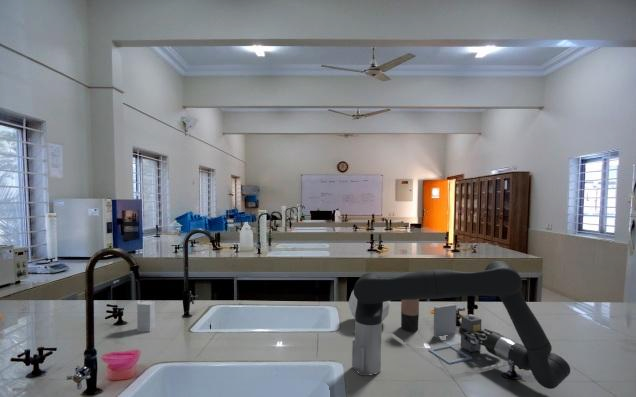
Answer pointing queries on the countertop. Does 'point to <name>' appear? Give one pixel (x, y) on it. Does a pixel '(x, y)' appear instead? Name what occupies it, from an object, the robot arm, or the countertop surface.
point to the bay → (446, 324)
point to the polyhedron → (353, 306)
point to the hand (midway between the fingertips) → (465, 329)
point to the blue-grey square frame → (452, 360)
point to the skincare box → (146, 316)
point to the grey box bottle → (472, 326)
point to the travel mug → (409, 315)
